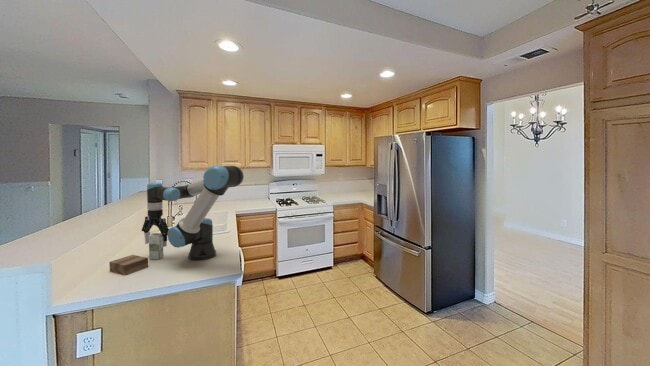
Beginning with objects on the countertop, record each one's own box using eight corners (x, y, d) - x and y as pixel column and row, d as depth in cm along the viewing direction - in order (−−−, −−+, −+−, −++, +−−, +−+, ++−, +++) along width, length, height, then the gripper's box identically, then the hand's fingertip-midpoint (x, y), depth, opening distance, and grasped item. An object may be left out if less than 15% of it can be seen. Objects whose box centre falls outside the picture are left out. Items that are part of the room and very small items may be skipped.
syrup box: (163, 256, 166) (163, 232, 165) (159, 259, 161) (159, 235, 159) (153, 256, 165) (152, 232, 164) (149, 260, 160) (148, 235, 158)
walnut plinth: (148, 266, 150) (147, 257, 149) (125, 275, 139) (124, 265, 138) (133, 263, 154) (132, 254, 154) (109, 271, 143) (109, 261, 143)
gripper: (176, 210, 160) (176, 246, 161) (146, 206, 169) (147, 240, 170) (164, 212, 153) (165, 250, 154) (134, 208, 162) (134, 243, 163)
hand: (155, 245), depth 162 cm, fingers open, 13 cm apart
